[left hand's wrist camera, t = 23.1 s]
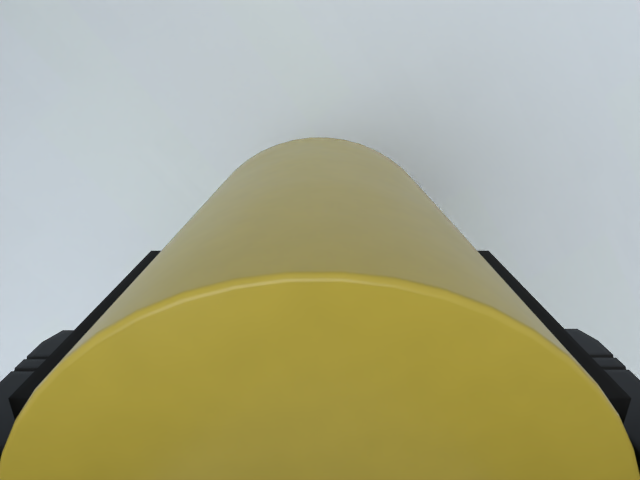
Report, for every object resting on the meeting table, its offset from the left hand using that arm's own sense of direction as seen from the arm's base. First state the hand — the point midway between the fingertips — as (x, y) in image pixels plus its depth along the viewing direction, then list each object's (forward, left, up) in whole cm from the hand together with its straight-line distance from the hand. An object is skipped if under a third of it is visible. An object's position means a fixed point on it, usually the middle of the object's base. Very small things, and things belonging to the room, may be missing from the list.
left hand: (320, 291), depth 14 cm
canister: (0, 0, -3) cm, 3 cm away
